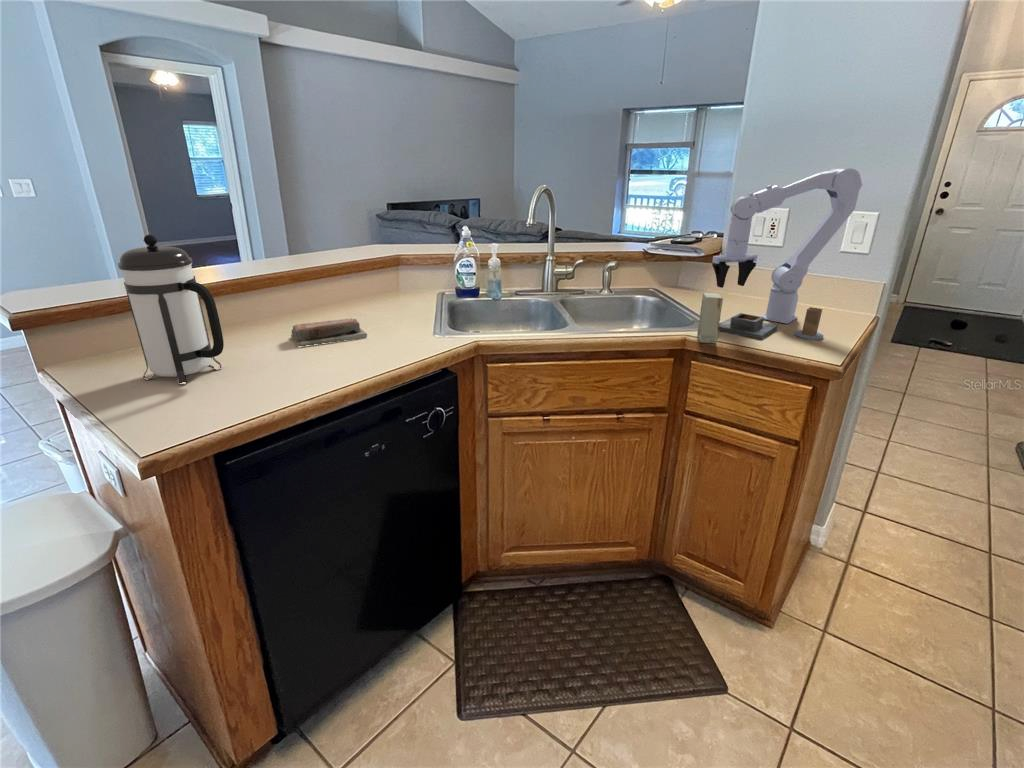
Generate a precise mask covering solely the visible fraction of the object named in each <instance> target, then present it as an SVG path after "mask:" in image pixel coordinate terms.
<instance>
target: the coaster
mask: <svg viewBox="0 0 1024 768" xmlns="http://www.w3.org/2000/svg"><path fill="white" fill-rule="evenodd" d="M802 330H803V329H802ZM802 330H800V329H799V330H796V331H794V336H795V337H797V338H799V339H803V340H808V339H809V341H821V340H823V339H824V335H823V334H822V333H820V332H818V331H817V334H816V335H815V336H809V335H804V334H802Z"/></svg>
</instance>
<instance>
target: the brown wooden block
mask: <svg viewBox="0 0 1024 768" xmlns="http://www.w3.org/2000/svg"><path fill="white" fill-rule="evenodd" d="M822 313H823V308H817V307H808V308H807V309H806V313H805V317H804V322H803V326H802V334H804V335H809V336H815V335H816V334H817V332H818V330H819V327H820V321H821V318H822Z"/></svg>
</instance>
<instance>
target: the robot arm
mask: <svg viewBox="0 0 1024 768" xmlns="http://www.w3.org/2000/svg"><path fill="white" fill-rule="evenodd" d="M862 187H863V183H862V178H861V174H860V172H859V171H858V170H857V169H855V168H841V167H836V168H832V169H830V170H825V171H821V172H817V173H814V174H813V175H810V176H808V177H805V178H803V179H799V180H797V181H795V182H793V183H791V184H788V185H785V186H781V187H780V185H779V186H778V185H776V184H775V185H772V184H769V185H766V186H765V188H764V189H761V190H759V191H756V192H754V193H753V192H749V193H748V195H747V196H739V197H737V198H736V199H735V200H734V201H733V203H732V204H731V206H730V213H731V214H732V215H731V220H730V221H731V222H730V224H729V230H728V235H727V243H726V249H725V254H719V255H713V256H712V264H711V265H712V268H713V271H714V274H715V280H716V287H717V288H722V289H723V288H724V287H725V284H726V283H725V282H726V278H727V274H728V272H729V269H730V268H731V266H730V265H728V264H727V263H738V264H737V265H738V275H737V285H738V286H741V287H744V286H745V284H746V282H747V279H748V277H749V276H750V274H751V273H752V271H753V270H754V269H755V268H756V266H757V260H758V254H755V253H747V252H748V246H749V240H750V234H751V230H752V229H751V228H752V221H753V216H754V215H756V214H759V213H763V212H765V211H768V210H771V209H774V208H777V207H779V206H782V204H783V202H784V201H785V200H786V199H788V198H791V197H792V198H793V197H795V196H798V195H801V194H804V193H808V192H810V191H813V190H816V189H817V190H825V191H826V192H827V194H828V195H829V199H830V204H831V208H830V209H829V210H828V212H826V214H825V215H824V216H823V218H821V220H820V221H819V223H818V224H817V225H816V226H815V227H814V229H813V230H812V231H811V232H810V234H809V235H808V236H807V238H805V240H804V241H803V243H801V244H800V246H799V248H798V249H797V250H796V251H795V253H794V254H792V256H790V257H788V258H787V259H785V260H784V262H783V263H782V264H781V265H779V266H776V268H774V270H773V271H772V273H771V277H770V278H771V281H772V283H773V284H772V285H771V288H770V291H769V297H768V302H767V307H766V312H765V314H764V315H762V316H761V317H764V320H765V321H770V322H776V323H782V324H791V322H793V321H794V320H796V319H798V318H799V317H798V316H797V315H795V314H796V310H797V304H798V301H799V294H798V291H799V288H800V287H801V286H802V284H803V280H804V278H805V276H806V275H807V274H808V271H809V266H810V265H811V263H812V262H813V261H814V260H815V258H816V257H817V256H818V255H819V254H820V253H821V251H822V250H823V249H824V248H825V246H826V245H827V244H828V243H829V242H830V240H831V239H832V237H834V235H835V234H836V233H837V232H838V230H839V229H840V228H841V227H842V226H843V225H844V224H845V222H846V221H847V219H848V218H849V217H850V216H851V215H852V214H853V213H854V211H855V209H856V206H857V202H858V197H859V193H860V190H861V189H862Z"/></svg>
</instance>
